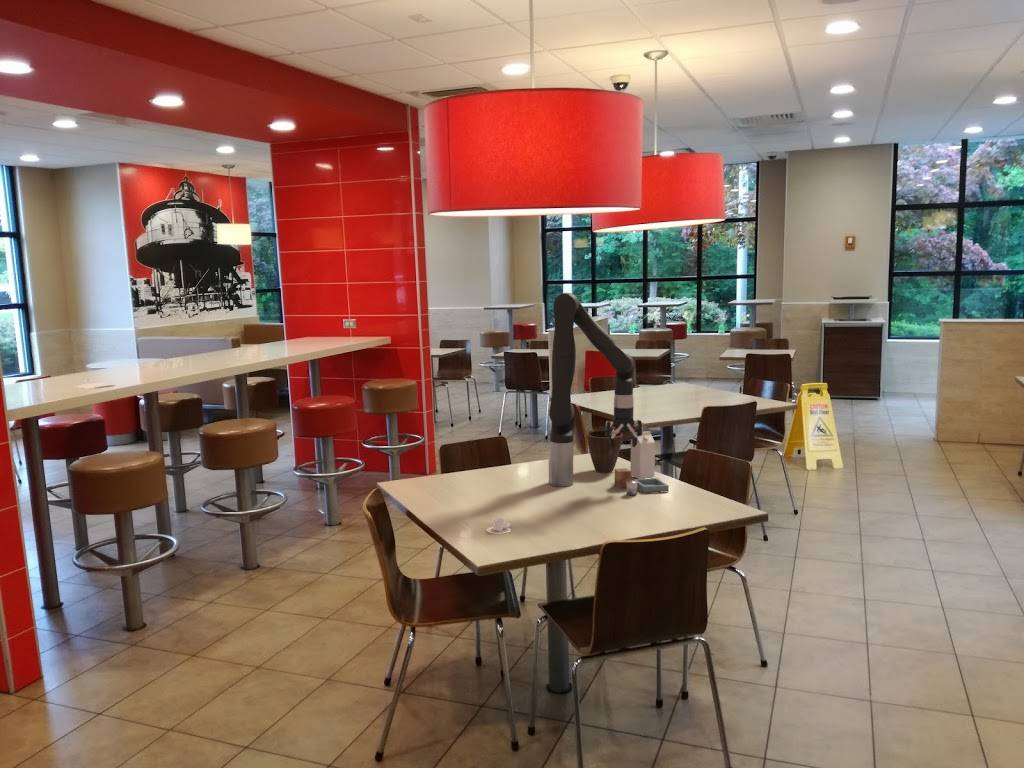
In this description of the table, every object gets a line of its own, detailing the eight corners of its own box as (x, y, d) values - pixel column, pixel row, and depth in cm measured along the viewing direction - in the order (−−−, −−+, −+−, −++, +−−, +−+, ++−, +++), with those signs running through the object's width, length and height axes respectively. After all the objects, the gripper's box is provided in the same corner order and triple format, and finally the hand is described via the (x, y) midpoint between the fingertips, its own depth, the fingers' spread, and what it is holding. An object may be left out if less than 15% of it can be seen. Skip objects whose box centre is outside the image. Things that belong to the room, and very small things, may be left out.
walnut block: (618, 489, 318) (618, 471, 317) (614, 486, 323) (614, 468, 322) (630, 488, 319) (631, 471, 318) (626, 485, 324) (626, 468, 323)
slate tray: (643, 493, 312) (643, 486, 312) (633, 485, 324) (633, 479, 324) (668, 491, 314) (668, 485, 314) (657, 484, 326) (657, 478, 326)
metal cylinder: (628, 496, 308) (628, 483, 308) (625, 493, 312) (625, 480, 311) (638, 495, 309) (638, 482, 308) (635, 493, 313) (635, 480, 312)
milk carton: (630, 476, 339) (630, 431, 337) (644, 474, 342) (645, 429, 340) (639, 480, 333) (640, 434, 330) (654, 478, 336) (655, 432, 333)
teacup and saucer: (506, 526, 273) (506, 514, 272) (517, 532, 266) (517, 520, 265) (482, 529, 268) (482, 517, 268) (493, 536, 261) (493, 524, 261)
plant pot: (619, 476, 340) (620, 437, 338) (584, 474, 343) (584, 436, 341) (623, 468, 354) (624, 431, 352) (589, 466, 358) (589, 430, 356)
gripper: (608, 407, 312) (608, 450, 314) (644, 406, 315) (644, 448, 317) (602, 405, 320) (602, 446, 322) (638, 403, 322) (637, 444, 324)
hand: (623, 447), depth 319 cm, fingers open, 8 cm apart
